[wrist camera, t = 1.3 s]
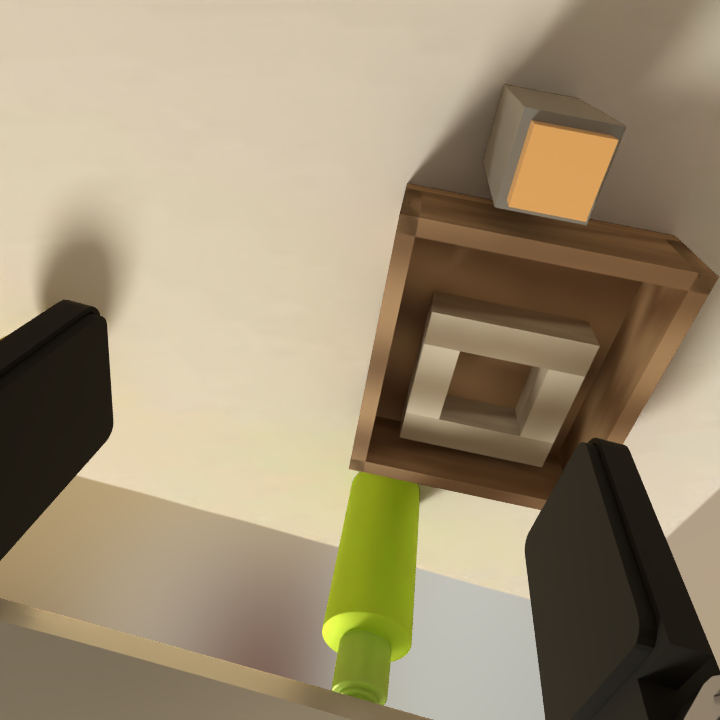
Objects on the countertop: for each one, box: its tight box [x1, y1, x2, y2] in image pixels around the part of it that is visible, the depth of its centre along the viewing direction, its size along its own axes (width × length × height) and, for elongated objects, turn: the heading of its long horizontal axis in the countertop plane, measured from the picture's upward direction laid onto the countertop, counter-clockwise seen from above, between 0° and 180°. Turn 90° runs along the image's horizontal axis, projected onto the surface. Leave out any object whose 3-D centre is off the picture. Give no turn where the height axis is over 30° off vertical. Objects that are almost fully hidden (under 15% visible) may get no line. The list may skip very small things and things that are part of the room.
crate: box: [349, 183, 719, 510], centre depth 34 cm, size 18×16×6 cm
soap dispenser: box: [322, 472, 420, 705], centre depth 38 cm, size 6×7×20 cm
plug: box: [483, 84, 626, 225], centre depth 25 cm, size 4×4×10 cm
